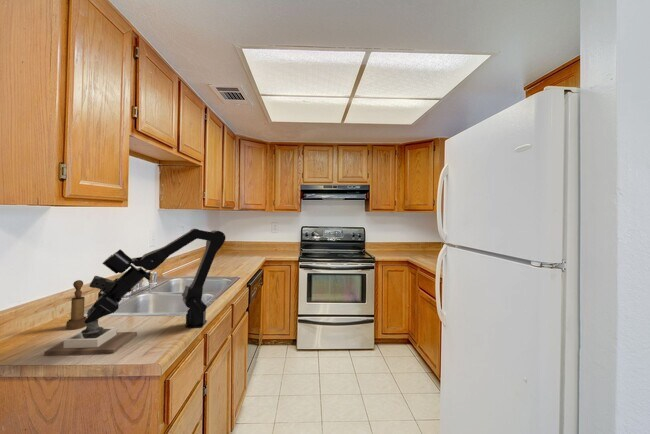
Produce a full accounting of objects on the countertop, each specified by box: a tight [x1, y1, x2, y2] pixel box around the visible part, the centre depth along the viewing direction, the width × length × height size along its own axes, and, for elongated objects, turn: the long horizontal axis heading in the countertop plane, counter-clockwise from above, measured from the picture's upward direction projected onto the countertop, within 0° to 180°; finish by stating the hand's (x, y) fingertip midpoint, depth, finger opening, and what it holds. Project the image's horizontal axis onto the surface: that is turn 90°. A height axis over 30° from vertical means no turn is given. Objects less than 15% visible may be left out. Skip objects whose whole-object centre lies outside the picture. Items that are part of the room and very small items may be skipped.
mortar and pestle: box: [65, 279, 87, 330], centre depth 112 cm, size 7×6×18 cm
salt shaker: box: [81, 305, 104, 339], centre depth 97 cm, size 6×6×12 cm
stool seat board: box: [43, 327, 138, 356], centre depth 97 cm, size 20×14×4 cm
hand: (86, 318), depth 96 cm, fingers open, 9 cm apart
